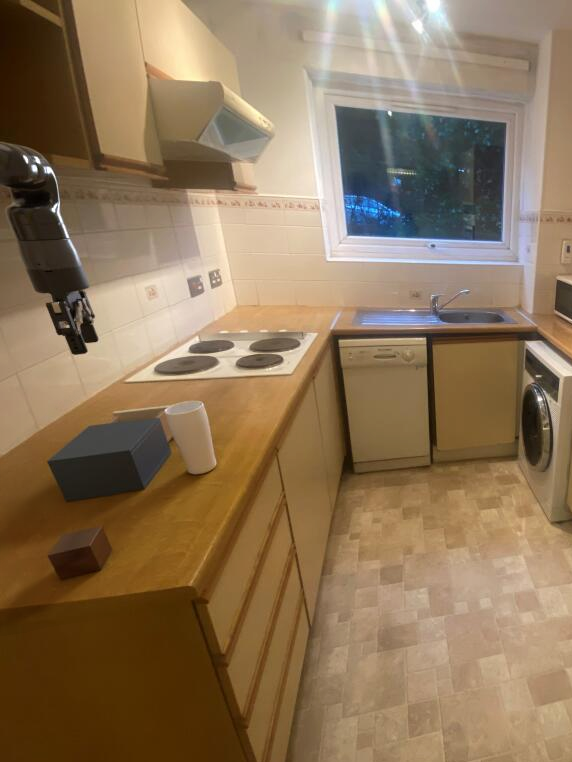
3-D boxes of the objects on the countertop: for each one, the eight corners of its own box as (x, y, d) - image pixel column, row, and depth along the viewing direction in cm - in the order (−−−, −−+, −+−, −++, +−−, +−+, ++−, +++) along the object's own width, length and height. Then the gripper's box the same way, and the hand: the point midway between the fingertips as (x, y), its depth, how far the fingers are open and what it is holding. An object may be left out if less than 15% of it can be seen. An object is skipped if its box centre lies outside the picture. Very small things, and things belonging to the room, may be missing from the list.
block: (60, 580, 67) (46, 555, 65) (74, 558, 71) (62, 534, 69) (101, 570, 69) (89, 545, 67) (112, 549, 73) (102, 525, 71)
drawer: (132, 430, 109) (122, 404, 106) (186, 424, 112) (178, 398, 109) (95, 468, 93) (83, 438, 90) (159, 459, 97) (149, 430, 94)
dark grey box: (104, 462, 97) (89, 425, 94) (171, 452, 101) (159, 417, 97) (66, 502, 84) (46, 461, 81) (144, 489, 88) (129, 450, 84)
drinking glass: (180, 480, 91) (158, 416, 85) (189, 463, 97) (169, 403, 91) (217, 473, 93) (199, 411, 88) (224, 457, 99) (206, 398, 93)
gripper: (39, 261, 84) (72, 341, 91) (9, 271, 73) (49, 361, 79) (90, 259, 88) (118, 336, 94) (69, 268, 77) (102, 354, 83)
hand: (86, 347), depth 87 cm, fingers open, 8 cm apart
